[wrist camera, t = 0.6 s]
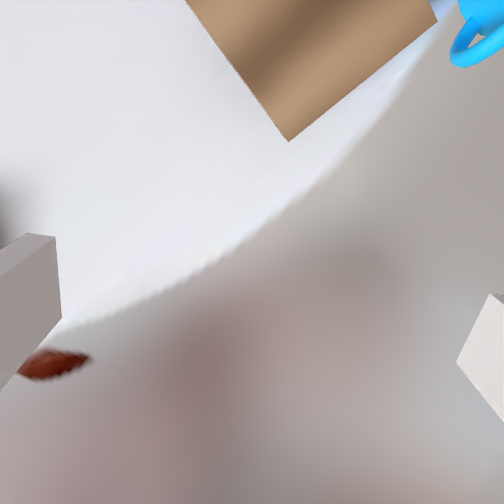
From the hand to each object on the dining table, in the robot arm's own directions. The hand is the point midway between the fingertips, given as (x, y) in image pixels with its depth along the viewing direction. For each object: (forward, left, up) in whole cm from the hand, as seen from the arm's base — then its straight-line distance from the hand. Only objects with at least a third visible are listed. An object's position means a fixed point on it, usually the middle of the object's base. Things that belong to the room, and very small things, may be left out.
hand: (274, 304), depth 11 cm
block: (-7, +9, -18) cm, 21 cm away
